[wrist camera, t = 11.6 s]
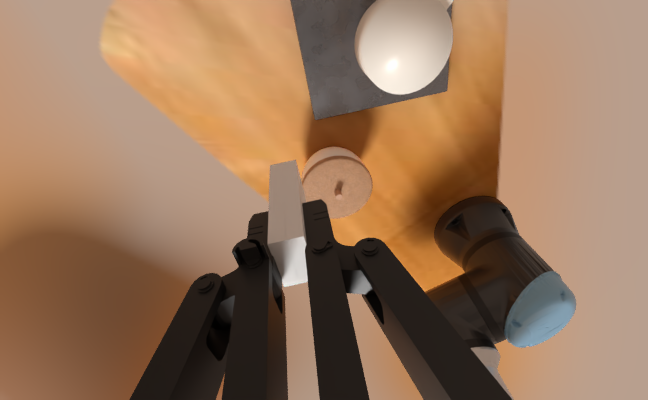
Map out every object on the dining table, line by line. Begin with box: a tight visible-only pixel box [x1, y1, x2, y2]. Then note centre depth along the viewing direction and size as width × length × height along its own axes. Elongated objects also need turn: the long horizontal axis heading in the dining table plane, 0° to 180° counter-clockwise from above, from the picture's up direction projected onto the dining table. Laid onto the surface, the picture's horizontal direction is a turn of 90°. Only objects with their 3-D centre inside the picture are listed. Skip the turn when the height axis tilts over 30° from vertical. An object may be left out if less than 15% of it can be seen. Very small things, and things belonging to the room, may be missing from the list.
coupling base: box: [290, 0, 452, 120], centre depth 38 cm, size 20×20×10 cm
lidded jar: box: [301, 147, 372, 219], centre depth 49 cm, size 11×11×9 cm
